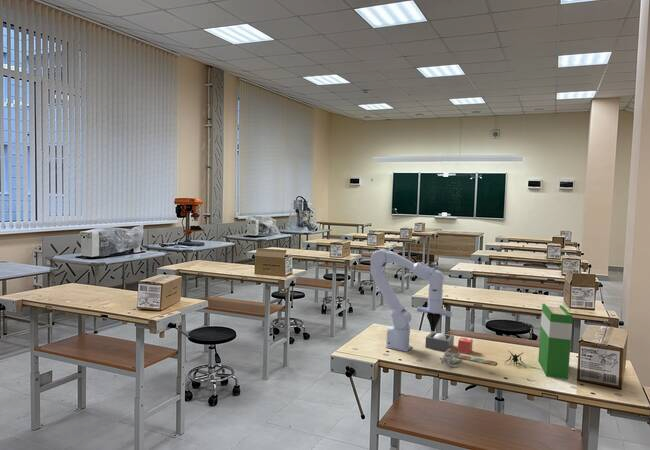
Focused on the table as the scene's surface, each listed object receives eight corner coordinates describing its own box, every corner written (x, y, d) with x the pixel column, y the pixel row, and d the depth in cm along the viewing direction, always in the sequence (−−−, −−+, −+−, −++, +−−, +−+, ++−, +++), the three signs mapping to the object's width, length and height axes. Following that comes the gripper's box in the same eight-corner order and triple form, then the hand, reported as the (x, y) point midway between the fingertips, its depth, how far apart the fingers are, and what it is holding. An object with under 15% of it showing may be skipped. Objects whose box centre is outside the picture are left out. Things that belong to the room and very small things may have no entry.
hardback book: (538, 360, 190) (542, 303, 188) (557, 363, 188) (562, 305, 186) (546, 376, 173) (550, 313, 171) (567, 379, 171) (572, 316, 169)
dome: (430, 346, 202) (430, 333, 201) (434, 342, 207) (434, 330, 207) (445, 349, 198) (446, 336, 198) (448, 345, 204) (449, 332, 204)
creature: (525, 372, 179) (525, 361, 186) (526, 360, 178) (526, 349, 185) (504, 368, 182) (504, 358, 189) (505, 356, 181) (505, 346, 188)
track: (445, 355, 191) (445, 354, 191) (447, 353, 194) (447, 352, 194) (495, 365, 182) (495, 364, 182) (496, 362, 185) (496, 361, 185)
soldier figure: (467, 366, 183) (455, 364, 174) (457, 372, 184) (445, 370, 175) (457, 349, 187) (445, 346, 178) (448, 355, 189) (435, 352, 180)
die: (457, 351, 197) (458, 339, 196) (460, 348, 201) (460, 337, 201) (469, 354, 194) (470, 342, 194) (471, 350, 199) (472, 339, 198)
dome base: (425, 347, 201) (425, 337, 201) (431, 341, 210) (431, 331, 209) (448, 351, 196) (448, 341, 196) (453, 345, 205) (454, 335, 205)
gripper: (454, 299, 193) (452, 331, 194) (420, 295, 199) (418, 325, 200) (451, 303, 187) (449, 335, 187) (416, 298, 193) (414, 329, 194)
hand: (433, 331), depth 193 cm, fingers closed
